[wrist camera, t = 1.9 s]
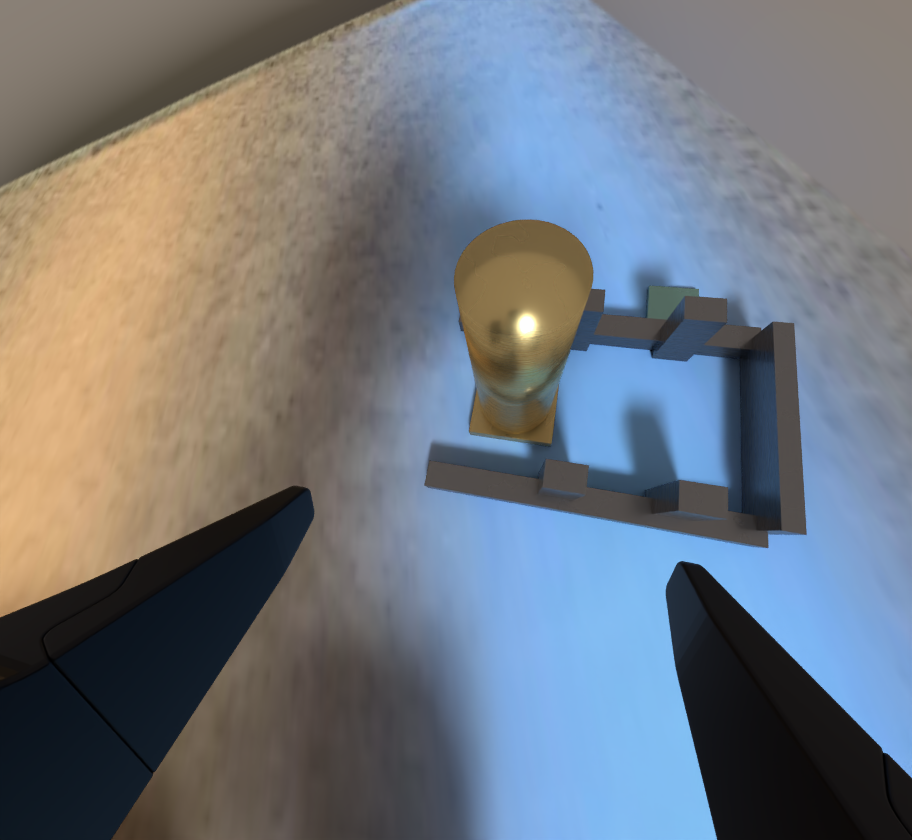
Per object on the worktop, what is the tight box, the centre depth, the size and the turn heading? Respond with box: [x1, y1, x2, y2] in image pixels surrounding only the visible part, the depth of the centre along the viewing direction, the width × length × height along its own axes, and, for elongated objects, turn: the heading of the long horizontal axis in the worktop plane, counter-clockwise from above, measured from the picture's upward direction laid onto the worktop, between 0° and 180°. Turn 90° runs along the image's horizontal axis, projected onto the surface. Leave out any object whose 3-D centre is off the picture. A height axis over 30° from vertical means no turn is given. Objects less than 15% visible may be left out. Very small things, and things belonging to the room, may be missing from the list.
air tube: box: [454, 220, 593, 447], centre depth 18 cm, size 5×5×12 cm
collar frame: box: [424, 286, 807, 548], centre depth 21 cm, size 16×18×4 cm
